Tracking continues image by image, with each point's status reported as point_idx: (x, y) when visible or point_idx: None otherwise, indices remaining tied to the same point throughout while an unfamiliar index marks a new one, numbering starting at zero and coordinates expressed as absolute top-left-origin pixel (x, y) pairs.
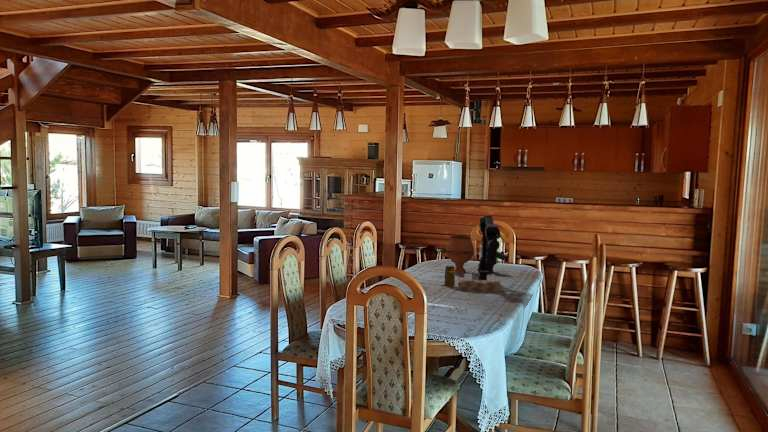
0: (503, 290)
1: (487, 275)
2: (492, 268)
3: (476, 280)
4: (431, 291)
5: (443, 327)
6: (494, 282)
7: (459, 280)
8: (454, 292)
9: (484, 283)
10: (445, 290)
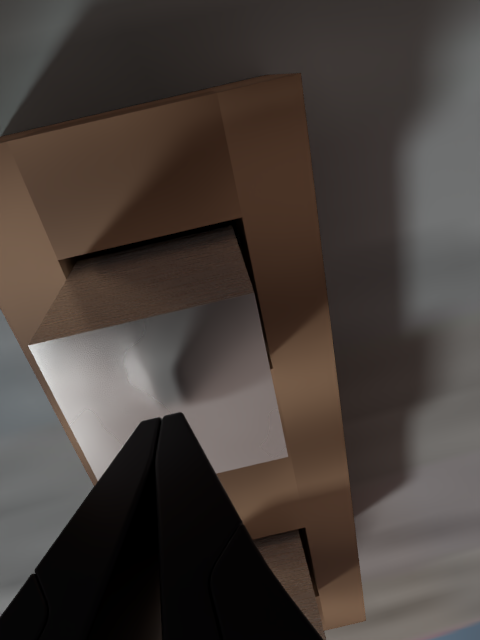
0: (49, 47)
1: (251, 455)
2: (256, 553)
3: None
4: (449, 631)
5: None
6: (65, 260)
7: None
8: (443, 521)
9: (334, 373)
10: (381, 589)
